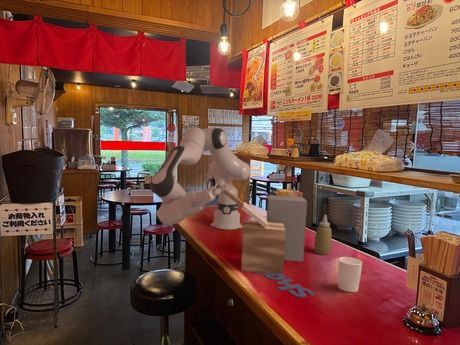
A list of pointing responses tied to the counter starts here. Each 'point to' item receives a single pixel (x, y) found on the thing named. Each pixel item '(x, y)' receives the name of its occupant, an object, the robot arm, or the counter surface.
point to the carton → (289, 222)
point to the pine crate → (263, 247)
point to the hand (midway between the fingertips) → (225, 186)
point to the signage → (287, 284)
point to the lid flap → (245, 207)
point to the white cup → (349, 273)
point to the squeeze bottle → (323, 237)
